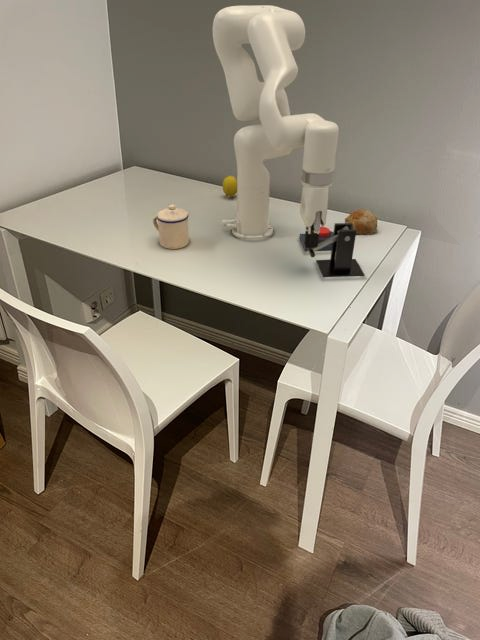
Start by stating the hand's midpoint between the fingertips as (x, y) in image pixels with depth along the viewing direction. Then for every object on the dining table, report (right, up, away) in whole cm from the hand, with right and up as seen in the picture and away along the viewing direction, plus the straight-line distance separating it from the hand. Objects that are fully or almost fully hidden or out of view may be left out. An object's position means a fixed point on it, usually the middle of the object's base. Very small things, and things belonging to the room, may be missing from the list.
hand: (310, 246), depth 128 cm
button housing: (+5, +2, +17) cm, 18 cm away
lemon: (-22, +25, +49) cm, 59 cm away
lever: (+5, 0, 0) cm, 5 cm away
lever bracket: (+8, -6, +5) cm, 11 cm away
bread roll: (+19, +9, +27) cm, 35 cm away
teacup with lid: (-39, +4, +19) cm, 44 cm away
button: (+5, +5, +15) cm, 17 cm away
